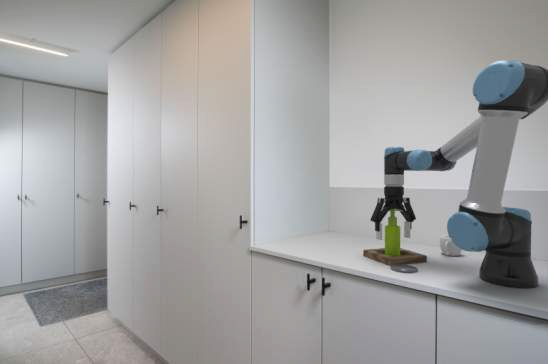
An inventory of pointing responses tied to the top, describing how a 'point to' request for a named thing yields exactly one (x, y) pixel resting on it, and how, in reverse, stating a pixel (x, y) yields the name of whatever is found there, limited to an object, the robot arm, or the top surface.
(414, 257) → the pocket frame
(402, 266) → the coaster
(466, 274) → the top surface
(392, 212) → the soap dispenser
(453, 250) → the mug
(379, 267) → the top surface
